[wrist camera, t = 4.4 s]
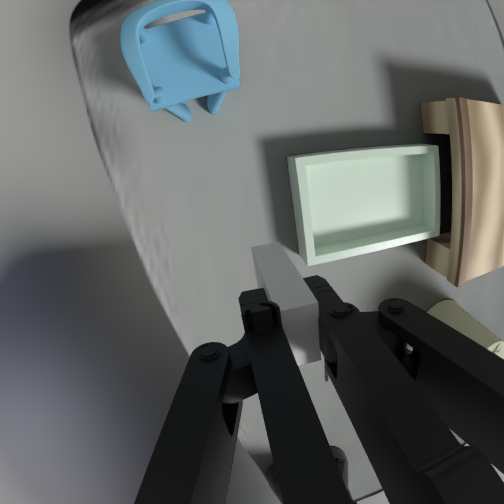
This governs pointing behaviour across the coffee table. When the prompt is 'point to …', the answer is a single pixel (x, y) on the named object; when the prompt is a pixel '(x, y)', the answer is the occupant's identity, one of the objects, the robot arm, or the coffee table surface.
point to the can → (467, 325)
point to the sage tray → (364, 199)
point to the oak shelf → (470, 188)
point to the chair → (182, 54)
